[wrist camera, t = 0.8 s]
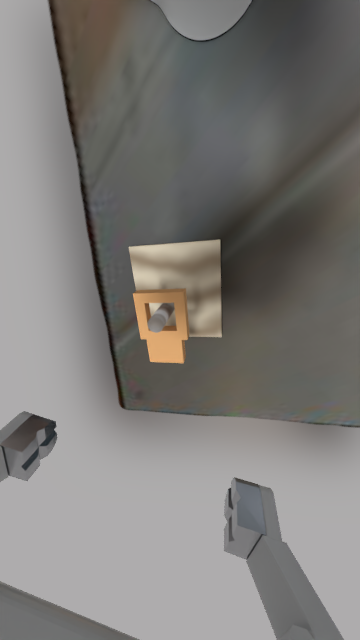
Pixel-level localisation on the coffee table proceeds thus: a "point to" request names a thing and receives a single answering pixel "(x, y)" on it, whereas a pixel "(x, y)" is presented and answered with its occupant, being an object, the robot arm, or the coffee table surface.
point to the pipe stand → (182, 282)
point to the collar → (171, 338)
